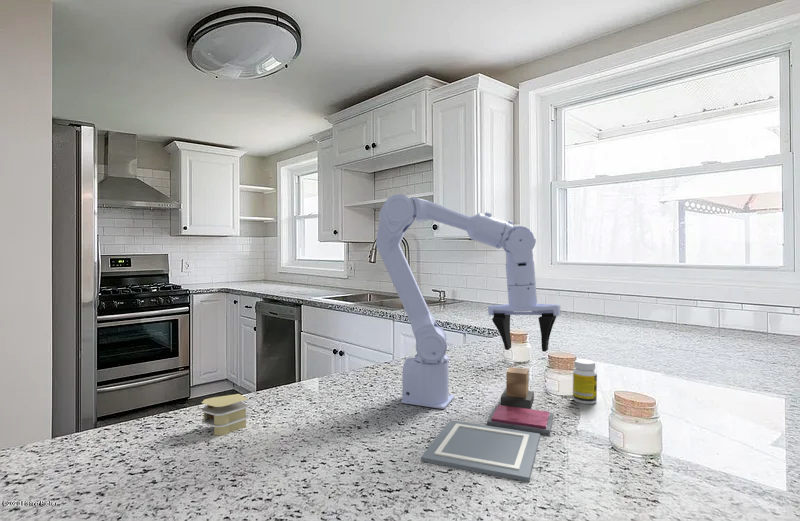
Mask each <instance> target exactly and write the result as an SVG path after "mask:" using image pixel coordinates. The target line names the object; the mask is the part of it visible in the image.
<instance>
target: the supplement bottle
mask: <svg viewBox="0 0 800 521" xmlns="http://www.w3.org/2000/svg"><path fill="white" fill-rule="evenodd" d="M574 367H575V368H574V369H573V370H572V400H573V401H574V402H577V403H580V404H586V405H592V404H596V403H597V400H598V398H597V397H598V394H597V391H598V386H597V385H598V381H597V380H598V374H597V371H596V361H594V360H592V359H591V360H590V359H584V358H583V359H575V361H574Z"/></svg>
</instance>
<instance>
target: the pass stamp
mask: <svg viewBox="0 0 800 521" xmlns="http://www.w3.org/2000/svg"><path fill="white" fill-rule="evenodd" d="M529 370H530V369H529V368H521V367H520V368H519V367H512V366H509V367H508V369H507V370H506V374H505V375H506V388H505V389H504V390H503V391H502V393H501V395H500V405H503V406H510V407H518V408H525V409H532V407H533V405H532V404H534V402H535V391H532V390H529V389H530V388H529V386H530V384H529V383H530V375H529V374H530V373H529V372H530V371H529ZM533 401H534V402H533Z"/></svg>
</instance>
